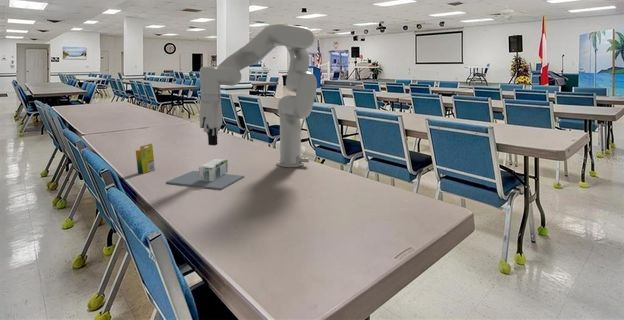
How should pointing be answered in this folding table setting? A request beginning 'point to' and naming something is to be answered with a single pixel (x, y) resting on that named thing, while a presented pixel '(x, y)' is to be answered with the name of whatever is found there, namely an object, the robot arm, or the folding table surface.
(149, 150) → the crayon box
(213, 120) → the robot arm
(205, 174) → the syrup box
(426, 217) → the folding table surface
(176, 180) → the mat
